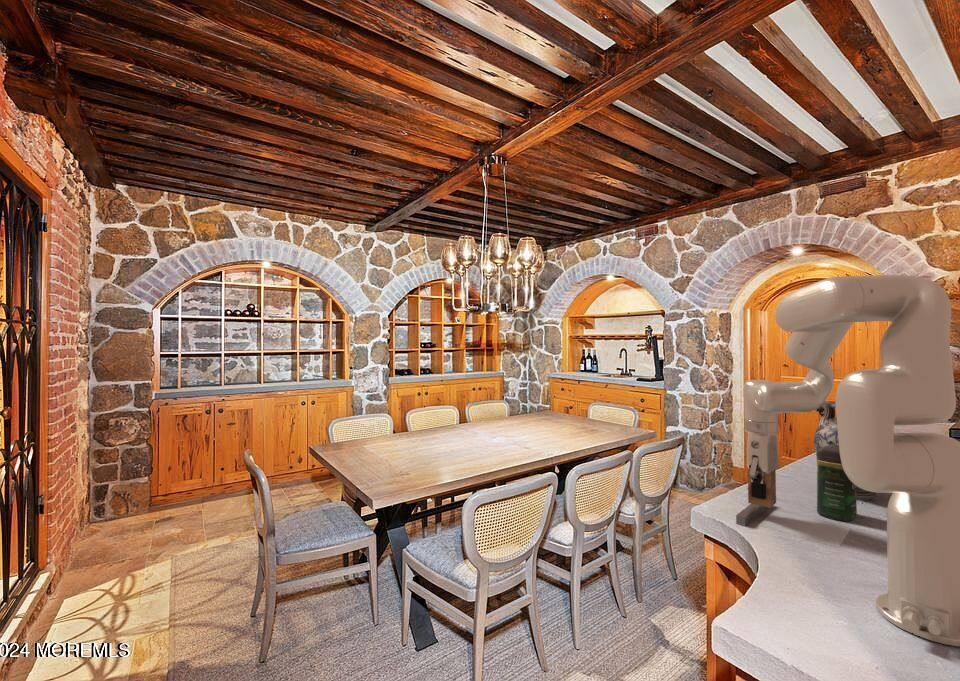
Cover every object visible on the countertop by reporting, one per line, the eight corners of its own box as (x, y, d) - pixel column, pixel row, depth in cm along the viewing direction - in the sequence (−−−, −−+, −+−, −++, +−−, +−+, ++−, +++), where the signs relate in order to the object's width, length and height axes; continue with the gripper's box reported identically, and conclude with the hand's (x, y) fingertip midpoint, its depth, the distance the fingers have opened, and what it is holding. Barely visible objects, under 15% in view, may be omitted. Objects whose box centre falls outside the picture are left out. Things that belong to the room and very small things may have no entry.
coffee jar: (852, 525, 109) (851, 452, 109) (813, 516, 115) (812, 446, 115) (860, 515, 115) (859, 445, 115) (823, 506, 121) (822, 440, 121)
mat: (838, 548, 98) (838, 547, 98) (758, 526, 110) (758, 525, 110) (850, 529, 107) (850, 528, 107) (775, 511, 119) (775, 510, 119)
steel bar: (745, 527, 109) (744, 517, 109) (736, 525, 111) (736, 515, 111) (770, 506, 123) (769, 497, 123) (762, 504, 124) (761, 495, 124)
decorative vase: (918, 500, 124) (915, 402, 124) (880, 512, 117) (876, 409, 117) (834, 479, 144) (831, 394, 143) (797, 488, 137) (793, 399, 137)
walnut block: (770, 508, 112) (769, 469, 112) (748, 502, 115) (747, 465, 115) (776, 502, 115) (775, 465, 115) (754, 497, 119) (754, 461, 119)
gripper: (767, 434, 107) (768, 508, 107) (787, 424, 118) (788, 490, 118) (733, 429, 112) (734, 499, 112) (755, 420, 123) (757, 484, 124)
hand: (762, 494), depth 115 cm, fingers closed on walnut block, 5 cm apart
